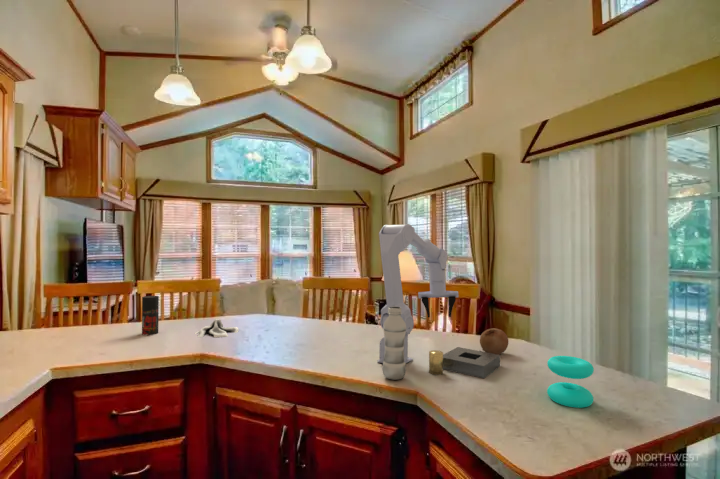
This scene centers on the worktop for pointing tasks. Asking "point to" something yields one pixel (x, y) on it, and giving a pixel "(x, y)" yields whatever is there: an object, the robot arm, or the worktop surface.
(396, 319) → the plastic bottle
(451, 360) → the block
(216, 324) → the cloth
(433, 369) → the bushing
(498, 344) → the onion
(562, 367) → the donuts
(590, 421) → the worktop surface
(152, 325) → the deodorant
